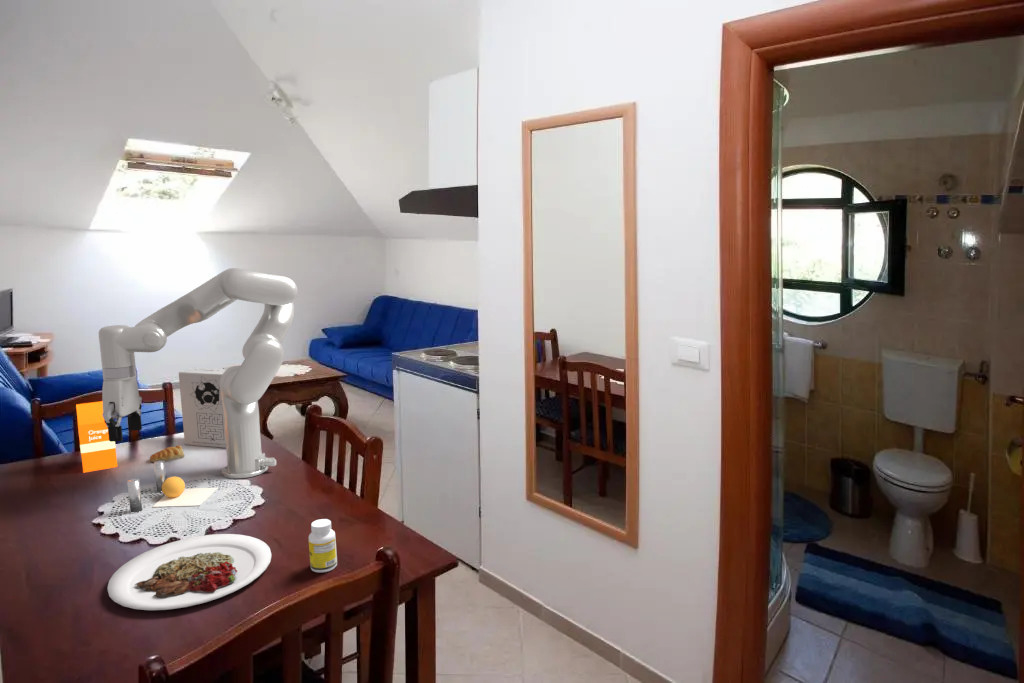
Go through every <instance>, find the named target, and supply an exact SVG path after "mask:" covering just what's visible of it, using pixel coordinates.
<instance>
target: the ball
mask: <svg viewBox="0 0 1024 683" xmlns="http://www.w3.org/2000/svg"><path fill="white" fill-rule="evenodd" d="M184 489H186V483H185V481H184V480H183V479H182V477H179V476H169V477H166V480H165V481H164V482H163V484H162V492H161V493H163V495H164V496H167V497H170V498H174V497H177V496H179V495H181V494H182V493H183V491H184Z"/></svg>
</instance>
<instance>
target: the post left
mask: <svg viewBox="0 0 1024 683" xmlns="http://www.w3.org/2000/svg"><path fill="white" fill-rule="evenodd" d="M126 483H127V490H128V491H127V493H128V500H129V501H128V502H129V511H131V512H137V513H139V511H140V512H142V511H143V503H142V495H141V483H140V479H139V478H132V479H129V480H127V482H126ZM131 512H130V513H131Z"/></svg>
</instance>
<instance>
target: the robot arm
mask: <svg viewBox="0 0 1024 683" xmlns="http://www.w3.org/2000/svg"><path fill="white" fill-rule="evenodd" d="M298 294H299V293H298V286H297V284H296V282H295V281H294V280H293V279H292V278H290V277H287V276H284V275H279V274H271V273H265V272H260V271H259V272H258V271H252V270H249V269H243V268H239V267H231V268H228V269H225V270H223V271H221V272H219V273H218V274H216V275H215V276H213V277H211V278H210V279H209V280H206V281H205V282H203V283H202V284H201V285H198V287H196V288H194V289H193V290H191V291H190V292H188V293H186V294H184V295H183V296H181V297H179V298H177V299H176V300H174V301H172V302H171V303H169V304H167V305H165V306H163V307H161V308H160V309H158V310H157V311H155V312H153V313H151V314H150V315H148V316H147V317H144V319H142V320H141V321H138V323H136V324H135V326H131V327H130V326H128V325H124V324H123V325H122V324H121V325H107V326H104V327H101V328H100V329H99V330H98V342H99V351H100V359H101V360H100V361H101V370H102V380H103V381H102V388H101V389H102V391H101V392H102V394H101V396H102V398H101V401H103V414H102V416H103V418H104V420H105V421H104V422H105V423H106V427H108V435H109V441H110V442H114V441H115V442H122V441H123V440H124V438H123V429H122V427H123V426H122V425H121V422H122V418H124V417H127V422H128V430H129V431H141V430H142V429H143V426H142V416H141V415H142V410H141V409H142V407H143V406H142V401H143V397H142V396H140V393H139V386H138V381H137V375H138V374H137V368H136V356H135V353H156V352H159V351H160V350H162V349H163V348H164V347H165V346H166V344H167V341H168V338H169V336H171V335H173V334H174V333H176V332H177V331H179V330H181V329H183V328H185V327H188V326H190V325H193V324H197V323H201V322H203V321H206V320H208V319H209V318H212V316H213V317H214V315H215V314H217V313H218V312H220V311H221V310H223V309H224V308H226V307H228V306H229V305H231V304H233V303H235V302H236V301H237V300H239V301H245V302H251V303H256V304H257V303H258V304H263V305H264V310H263V313H262V315H261V316H260V319H259V321H258V323H257V324H256V326H255V327H254V329H253V331H252V332H251V333H250V335H249V337H248V338H247V340H246V341H245V342H244V344H243V347H242V350H241V351H242V356H243V358H244V360H243V362H242V363H241V365H233V366H230V367H228V368H226V369H227V370H226V371H225V372H224V373H223V374H222V376H221V379H220V392H221V398H222V404H223V413H224V426H225V439H226V448H225V450H226V462H227V465H226V466H224V467H223V468H222V470H221V473H222V476H223V477H225V478H229V479H246V478H252V477H256V476H259V475H262V474H263V473H266V472H267V471H268V469H269V467H275V466H277V459H275V457H267V456H266V454H265V453H266V452H263V451H262V440H261V425H260V410H259V409H260V407H259V400H260V399H261V398H262V397H263V396H264V394H265V392H266V391H267V389H268V387H269V386H270V385H271V383H272V381H273V380H274V378H275V377H276V375H277V373H278V371H279V370H280V368H281V367H282V364H283V361H284V358H285V352H284V351H285V350H284V347H283V345H282V342H283V341H284V339H285V337H286V336H287V333H288V332H289V330H290V329H291V326H292V324H293V321H294V318H295V317H294V316H295V305H294V302H295V300H296V299H297V297H298Z"/></svg>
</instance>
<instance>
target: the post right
mask: <svg viewBox="0 0 1024 683" xmlns="http://www.w3.org/2000/svg"><path fill="white" fill-rule="evenodd" d="M165 463H166V462H165V461H156V462H153V468H154V470H153V471H154V478H155V480H154V481H155V488H156V490H155V491H156V492H157V493H162V492H161V491H162V484H163V482H164V481H165V480H166V479H167V473H166V464H165Z"/></svg>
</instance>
